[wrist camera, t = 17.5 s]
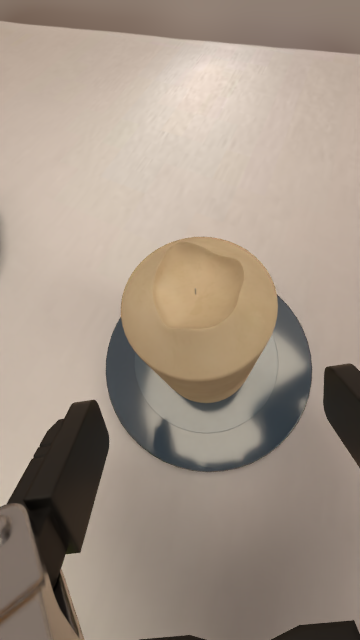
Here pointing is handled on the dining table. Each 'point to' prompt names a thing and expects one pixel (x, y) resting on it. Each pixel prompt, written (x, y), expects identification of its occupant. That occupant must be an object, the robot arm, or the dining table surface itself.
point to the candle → (200, 315)
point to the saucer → (214, 403)
